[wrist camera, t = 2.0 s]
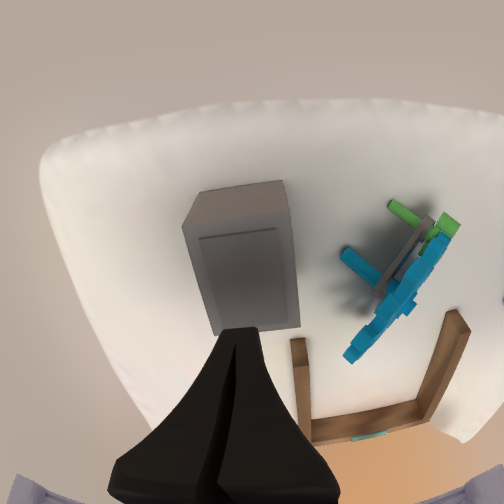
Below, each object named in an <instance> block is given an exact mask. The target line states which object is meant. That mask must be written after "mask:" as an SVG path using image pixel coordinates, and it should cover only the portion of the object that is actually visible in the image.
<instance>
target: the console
mask: <svg viewBox="0 0 504 504" xmlns="http://www.w3.org/2000/svg"><path fill="white" fill-rule="evenodd" d="M182 230H183V233H184V237H185V241H186V244H187V248H188V251H189V255H190V258H191V262H192V265H193V269H194V272H195V276H196V279H197V282H198V286H199V289H200V292H201V296H202V299H203V302H204V305H205V309H206V312H207V315H208V318H209V321H210V324H211V327H212V331H213V334H214V336H219V335H220V333H221V331H222V330H223V329H232V328H243V327H253V326H255V327H256V328H258V332H263V331H273V330H281V329H290V328H298V327H301V323H300V311H299V299H298V288H297V277H296V267H295V257H294V247H293V238H292V228H291V219H290V211H289V207H288V203H287V199H286V195H285V191H284V187H283V183H282V180H279V181H271V182H264V183H257V184H250V185H243V186H236V187H229V188H223V189H217V190H211V191H205V192H200V193H199V195H198V196H197V198H196V200H195V202H194V204H193V206H192V208H191V210H190V211H189V213H188V215H187V217H186V219H185V221H184V223H183V225H182Z"/></svg>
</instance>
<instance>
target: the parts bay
mask: <svg viewBox="0 0 504 504" xmlns="http://www.w3.org/2000/svg"><path fill="white" fill-rule="evenodd" d="M470 334H471V330H470V328H469V327H468V325H467V324H466V322H465V321H464V319H463V318H462V316H461V315H460V313H459V312H458V310H457V309H456V310H452V311H448V312H446V315H445V318H444V322H443V325H442V329H441V332H440V335H439V338H438V341H437V344H436V347H435V350H434V353H433V356H432V359H431V362H430V365H429V367H428V370H427V373H426V375H425V378H424V380H423V383H422V386H421V388H420V390H419V393H418V395H417V398H416V400H412V401H408V402H405V403H401V404H397V405H393V406H388V407H384V408H379V409H375V410H370V411H365V412H360V413H355V414H349V415H344V416H338V417H331V418H325V419H318V420H311V403H310V375H309V362H308V355H307V348H306V341H305V338H299V339H291V340H290V342H291V352H292V362H293V372H294V382H295V392H296V403H297V413H298V424H299V428H300V430H301V431H302V433H303V434H304V435H305V437H306V438H307V439H308V441H309V442H310V443H311V444H312V446H313V447H314V446H321V445H329V444H335V443H341V442H347V441H352V442H353V441H358V440H363V439H368V438H373V437H377V436H382V435H385V434H386V433H389V432H393V431H397V430H401V429H405V428H409V427H412V426H416V425H419V424H423V423H426V422H429V421H430V419H431V417H432V415H433V413H434V412H435V410H436V408H437V406H438V404H439V402H440V400H441V398H442V397H443V395H444V393H445V391H446V389H447V387H448V384H449V382H450V380H451V378H452V376H453V374H454V372H455V370H456V367H457V365H458V363H459V361H460V358H461V356H462V354H463V351H464V349H465V346H466V344H467V341H468V339H469V336H470Z"/></svg>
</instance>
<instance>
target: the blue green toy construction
mask: <svg viewBox="0 0 504 504" xmlns="http://www.w3.org/2000/svg"><path fill="white" fill-rule="evenodd" d="M388 209H389V210H390V211H392V212H393V213H394V214H396V215H397V216H399V217H400V218H401V219H403V220H404V221H405V222H407V223H408V224H409V225H411V226H412V227H413V228H415V231H414V232H413V234H412V235H411V237H410V238H409V240H408V241H407V243H406V244H405V246H404V247H403V248H402V250H401V251H400V253H399V254H398V256H397V257H396V258H395V260H394V261H393V263H392V264H391V265H390V267H389V268H388V269H387V271H386V272H385V274H384V275H382V274H381V273H380V272H379V271H378V270H376V269H375V268H374V267H373V266H372V265H370V264H369V263H368V262H367V261H365V260H364V259H363V258H362V257H360V256H359V255H358V254H357V253H355V252H354V251H353V250H352V249H350V248H347V249H346V250H345V251H344V252H343V253H342V255H341V257H340V260H341V261H342V262H344V263H345V264H346V265H347V266H348V267H350V268H351V269H352V270H353V271H354V272H356V273H357V274H358V275H359V276H360V277H362V278H363V279H364V280H365V281H366V282H368V283H369V284H370V285H371V286H372V287H373V288H374V289H373V290H372V293H373V294H374V295H375V296H377V297H378V298H379V299H380V300H381V301H382V303H381V304H380V306H379V307H378V308H377V309H376V310H375V312H374V313H375V314H376V317H375V318H374V319H373V320H372V322H371V323H370V324H369V325H365V326H364V327H363V328H362V329H361V330H360V332H359V333H358V334H357V335H356V336H355V338H354V339H353V340H352V341H351V344H352V345H351V346H350V347H349V348H348V349H347V350H346V351H345V353H344V354H343V357H344V358H345V359H346V360H347V361H348V362H350V363H351V364H353V363H354V362H355V361H356V360H358V359H359V358H360V357H361V356H362V355H363V354H364V353H365V352H366V351H367V349H368V348H370V347H371V346H372V345H373V344H374V343H375V342H376V341H377V339H378V338H379V337H380V336H381V335H382V333H383V332H384V331H385V330H386V329H387V328H388V327H389V326H390V325H391V324H392V323H393V321H394V320H395V319H396V318H397V319H398V318H399V316H400V315H401V314H402V313H403V314H405V315H406V316H408V315H409V314H410V312H411V311H412V310H413V309H414V307H415V306H416V305H417V303H415V302H414V301H413V299H414V298H415V296H416V295H417V290H418V289H419V287H420V286H421V285H422V283H423V282H424V281H425V280H426V279H427V277H428V276H429V275H430V273H431V272H432V270H433V269H434V268H433V267H434V266H435V265H436V264H437V262H438V261H439V260H440V258H441V257H442V255H443V254H444V252H445V250H446V249H447V246H448V245H449V243H450V241H451V238H453V236H454V235H455V233H456V232H457V230H458V228H459V227H460V225H461V224H459V223H458V222H457V221H455V220H454V219H453V218H452V217H450V216H449V215H448V214H446V213H445V212H443V214H442V215H441V216H440V218H439V220H438V221H437V223H436V226H435V227H434V224H435V222H436V221H434V220H433V219H432V218H430V217H429V216H428V215H426V216H425V217H424V218H423V219H420V218H419V217H417V216H416V215H415V214H413V213H412V212H411V211H409V210H408V209H406V208H405V207H404V206H402V205H401V204H399V203H398V202H397V201H395V200H393V201H392V202H391V203H390V205H389V207H388ZM440 231H441V232H440ZM442 231H443V232H444V233H445V234H444V233H443V232H442ZM439 233H440V234H439ZM446 234H447V235H448V236H449V237H448V236H447V235H446ZM437 236H438V237H437ZM425 239H426V240H427V241H426V243H425V244H424V245H423V247H422V248H421V250H420V251H419V253H418V255H419V256H420V257H421V258H419V257H418V258H417V259H416V260H415V261H414V263H413V264H412V265H411V266H410V267H409V269H408V270H407V272H406V273H405V275H404V277H403V279H402V281H401V283H400V282H398V281H397V280H396V279H395V278H394V276H395V274H396V273H397V272H398V270H399V269H400V268H401V266H402V265H403V263H404V262H405V261H406V259H407V258H408V256H409V255H410V254H411V252H412V251H413V249H414V248H415V246H416V245H417V243H418V242H419V241H420V242H421V243H422V242H423V241H424V240H425Z"/></svg>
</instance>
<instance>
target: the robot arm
mask: <svg viewBox="0 0 504 504" xmlns="http://www.w3.org/2000/svg"><path fill="white" fill-rule="evenodd" d="M503 304H504V303H503ZM107 491H108V492H109V494H110V495H111V496H112V497H114V498H115V499H117V500H119V501H121V502H122V503H124V504H338V498H339V496H340V487H339V485H338V482H337V480H336V479H335V476H334V475H333V473H332V471H331V470H330V468H329V467H328V465H327V462H326V461H325V460H324V458H323V457H322V456H321V455H320V454H319V453H318V452H317V450H316V449H315V448H314V447H313V446H312V444H311V443H310V442H309V441H308V439H307V438H306V437H305V435H304V434H303V433H302V431H301V430H300V428H299V427H298V425H297V424H296V423H295V421H294V420H293V418H292V417H291V415H290V414H289V412H288V410H287V409H286V407H285V405H284V404H283V402H282V400H281V398H280V396H279V394H278V392H277V390H276V388H275V386H274V384H273V382H272V380H271V378H270V375H269V373H268V371H267V368H266V365H265V362H264V356H263V352H262V347H261V342H260V337H259V332H258V328H256V327H255V326H253V327H243V328H232V329H223V330H222V331H221V333H220V335H219V337H218V340H217V342H216V344H215V346H214V348H213V350H212V352H211V354H210V356H209V357H208V359H207V361H206V363H205V364H204V366H203V368H202V370H201V371H200V373H199V375H198V376H197V378H196V379H195V381H194V382H193V384H192V385H191V387H190V388H189V390H188V391H187V393H186V394H185V395H184V397H183V398H182V399H181V401H180V402H179V403H178V404H177V406H176V407H175V408H174V409H173V410H172V412H171V413H170V414H169V415H168V416H167V417H166V418H165V419H164V420H163V421H162V422H161V423H160V425H159V426H158V427H156V428H155V429H154V430H153V431H152V432H151V433H150V434H149V435H148V436H147V437H145V438H144V439H143V440H142V441H141V442H140V443H139V444H137V445H136V446H135V447H133V448H132V449H131V450H129V451H128V452H127V453H125V454H124V455H123V456H121V457H120V458H118V459H117V460H116V463H115V465H114V467H113V470H112V473H111V477H110V481H109V486H108V489H107ZM7 504H84V503H81V502H78V501H75V500H72V499H69V498H66V497H64V496H61V495H58V494H56V493H53V492H50V491H48V490H46V489H45V488H44V487H43V486H41V485H39V484H38V483H36V482H34V481H32V480H30V479H28V478H25V477H23V476H21V475H19V474H17V475H16V477H15V480H14V483H13V486H12V489H11V491H10V495H9V498H8V501H7ZM417 504H504V467H503V465H502V464H499V465H497V466H495V467H493V468H491V469H489V470H487V471H485V472H483V473H481V474H479V475H477V476H476V477H474V478H472V479H470V480H469V481H468V482H467V483H465V485H464V486H461V487H459V488H457V489H454V490H452V491H450V492H447V493H445V494H442V495H439V496H436V497H434V498H431V499H428V500H425V501H423V502H419V503H417Z"/></svg>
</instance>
